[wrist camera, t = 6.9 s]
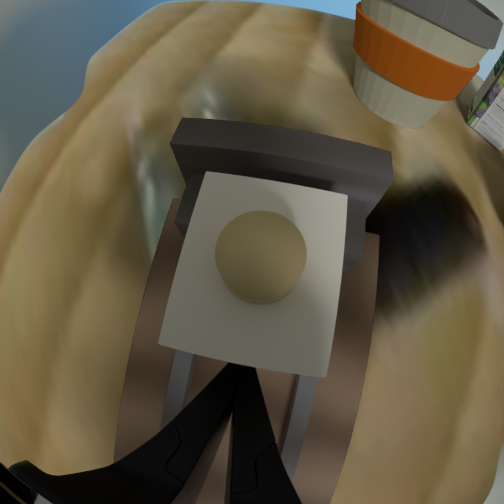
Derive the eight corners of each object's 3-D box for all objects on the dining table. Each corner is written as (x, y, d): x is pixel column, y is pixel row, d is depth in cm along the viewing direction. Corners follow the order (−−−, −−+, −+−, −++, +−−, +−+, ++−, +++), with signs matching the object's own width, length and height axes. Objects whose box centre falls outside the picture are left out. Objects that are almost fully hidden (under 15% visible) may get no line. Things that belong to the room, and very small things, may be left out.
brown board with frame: (303, 550, 11) (323, 625, 2) (116, 509, 12) (55, 563, 3) (373, 240, 18) (441, 166, 10) (176, 205, 20) (132, 115, 11)
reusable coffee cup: (407, 69, 26) (441, -23, 12) (462, 143, 22) (529, 44, 8) (318, 63, 25) (336, -55, 11) (368, 144, 21) (430, -11, 7)
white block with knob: (292, 363, 15) (337, 382, 6) (205, 346, 15) (142, 342, 7) (309, 263, 17) (357, 176, 8) (227, 248, 17) (200, 150, 9)
